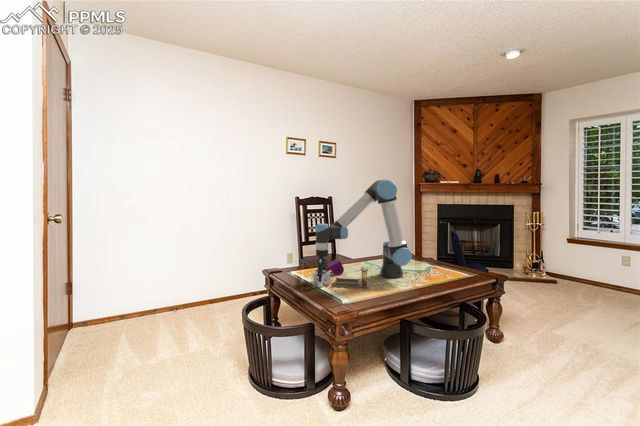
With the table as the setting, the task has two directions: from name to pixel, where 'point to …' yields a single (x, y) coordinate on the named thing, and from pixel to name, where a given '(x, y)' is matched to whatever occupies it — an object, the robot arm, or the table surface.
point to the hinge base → (353, 281)
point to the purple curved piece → (335, 267)
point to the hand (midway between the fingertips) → (322, 283)
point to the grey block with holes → (325, 278)
